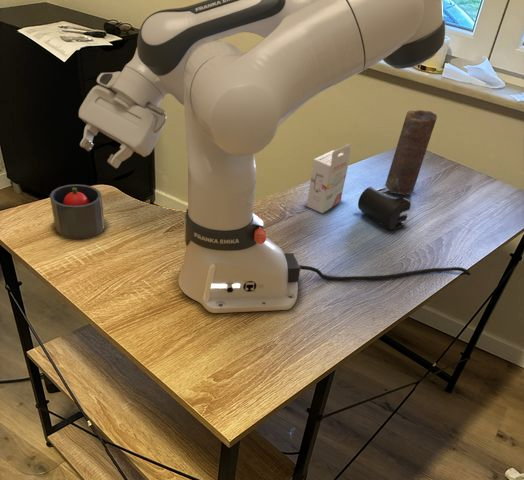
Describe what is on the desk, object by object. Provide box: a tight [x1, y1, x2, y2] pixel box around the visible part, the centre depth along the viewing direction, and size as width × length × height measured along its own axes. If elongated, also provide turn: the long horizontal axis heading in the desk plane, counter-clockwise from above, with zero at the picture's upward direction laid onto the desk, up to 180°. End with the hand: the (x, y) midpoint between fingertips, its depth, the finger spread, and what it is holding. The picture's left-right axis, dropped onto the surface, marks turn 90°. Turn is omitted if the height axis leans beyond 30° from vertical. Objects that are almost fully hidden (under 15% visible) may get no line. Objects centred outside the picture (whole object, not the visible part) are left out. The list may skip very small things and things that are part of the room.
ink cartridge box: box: [306, 143, 352, 214], centre depth 124 cm, size 9×5×15 cm, turn 143°
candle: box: [384, 109, 438, 196], centre depth 132 cm, size 8×7×20 cm
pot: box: [49, 183, 105, 240], centre depth 107 cm, size 10×10×7 cm
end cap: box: [357, 186, 412, 231], centre depth 123 cm, size 10×7×7 cm
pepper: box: [63, 187, 89, 206], centre depth 106 cm, size 5×5×8 cm
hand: (97, 156), depth 104 cm, fingers open, 8 cm apart
